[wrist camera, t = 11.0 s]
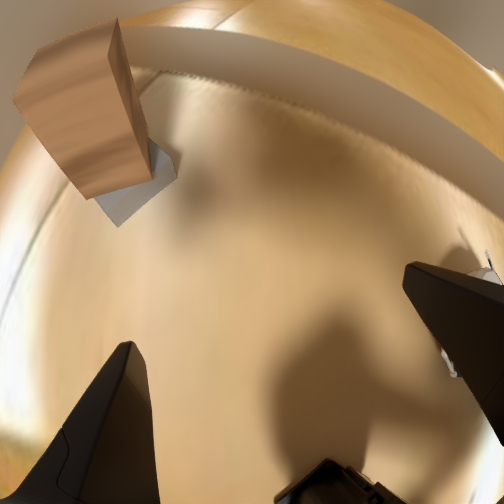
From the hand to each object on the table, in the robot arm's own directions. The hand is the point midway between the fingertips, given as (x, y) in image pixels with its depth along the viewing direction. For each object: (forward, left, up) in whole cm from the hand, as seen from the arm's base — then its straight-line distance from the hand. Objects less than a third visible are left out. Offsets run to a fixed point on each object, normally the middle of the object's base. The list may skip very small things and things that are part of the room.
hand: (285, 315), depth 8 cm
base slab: (+1, +18, -14) cm, 22 cm away
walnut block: (+1, +18, -11) cm, 21 cm away
